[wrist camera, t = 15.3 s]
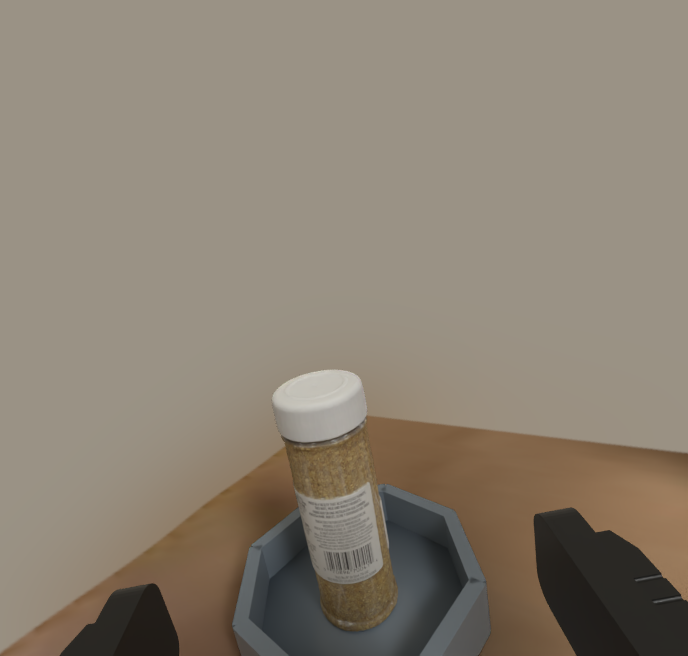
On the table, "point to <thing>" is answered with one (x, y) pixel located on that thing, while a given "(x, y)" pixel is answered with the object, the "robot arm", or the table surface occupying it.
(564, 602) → the robot arm
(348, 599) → the spice jar
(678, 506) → the table surface
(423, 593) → the bowl
